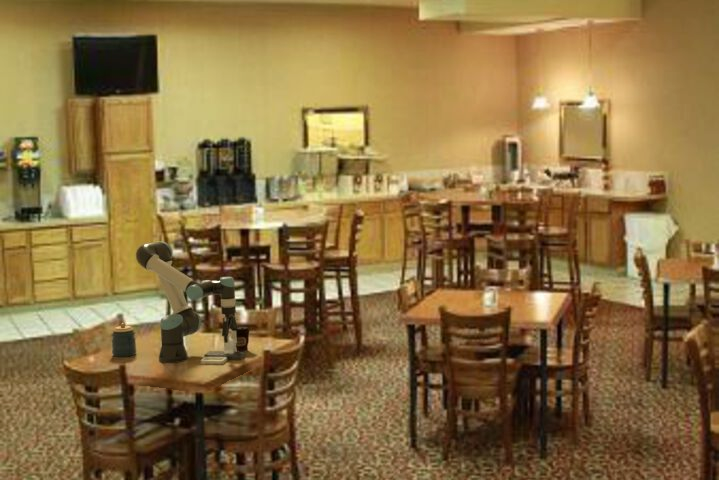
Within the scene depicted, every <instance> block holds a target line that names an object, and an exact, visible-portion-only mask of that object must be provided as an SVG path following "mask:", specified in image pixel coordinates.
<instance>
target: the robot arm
mask: <svg viewBox="0 0 719 480" xmlns="http://www.w3.org/2000/svg"><path fill="white" fill-rule="evenodd" d="M172 258H173V249H172V248H171V246H170V245H169V243H167V242H165V241H154V242H150V243H144V244H142V245H140V246H139V247H138V248H137V250H136V252H135V259H136V261H137V263H138V264H139V265H140V266H141V267H142V268H143V269H146V271H148V272H150V271H152V272H153V273H155V274H157V276H158V279H159V282H160V284H161V286H162V288H163V291H164V294H165V295H166V298H167V300H168V303H169V305H170V307H171V310H172V314H166V315H164V316H163V317H162V318H161V320H160V338H161V346H160V351H159V354H158V361H159V362H162V363H179V362H185V361H186V360H188V358H189V355H188V352H187V351H188V350H187V349H186V347H185V341H184V337H186V336H189V335H190V336H191V335H194V334H195V333H197V332H198V331H199V330H200V329H201V328H202V327H201V326H202V317H201V314H199V312H197V311H194V309H193V307H192V306H191V305H188V302H187V300H186V297H185V295H186V296H187V298H188V299H190V300H192V301H194V300H199V299H202V298H205V297H210V296H211V295H212V296H215V295H217V296H220V307H221V315H224V316H223V317H222V329H221V330H222V332H221V337H223V349H224V348H230V347H229V339H236V343H237V338H236V330H238V325H237V321H236V313H237V309H236V308H237V307H236V302H237V300H236V297H235V296H236V294H235V290H236V289H235V287H236V285H235V280H234V277H232V276H222V277H220V278H219V280H210V279H206V280H201V282H200V283H199V282H197V281H196V280H194V279H192V278H190V277H189V276H188V275H186V274H185V273H183V272H181V271H180V270H178V269H176V268H175V267H173V266H172V264H173V260H172ZM183 292H184V293H186V294H185V295H184V293H183ZM229 332H230V336H231V337H230V336H229Z"/></svg>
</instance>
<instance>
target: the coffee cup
mask: <svg viewBox="0 0 719 480" xmlns="http://www.w3.org/2000/svg"><path fill="white" fill-rule="evenodd" d="M237 328H238V330H236V338H237V343H236V351H244V352H245V353H246V352H249V348H248V346H249V340H250V339H249V335H250V329H249V327H248V326H240V327H238V326H237Z"/></svg>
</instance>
